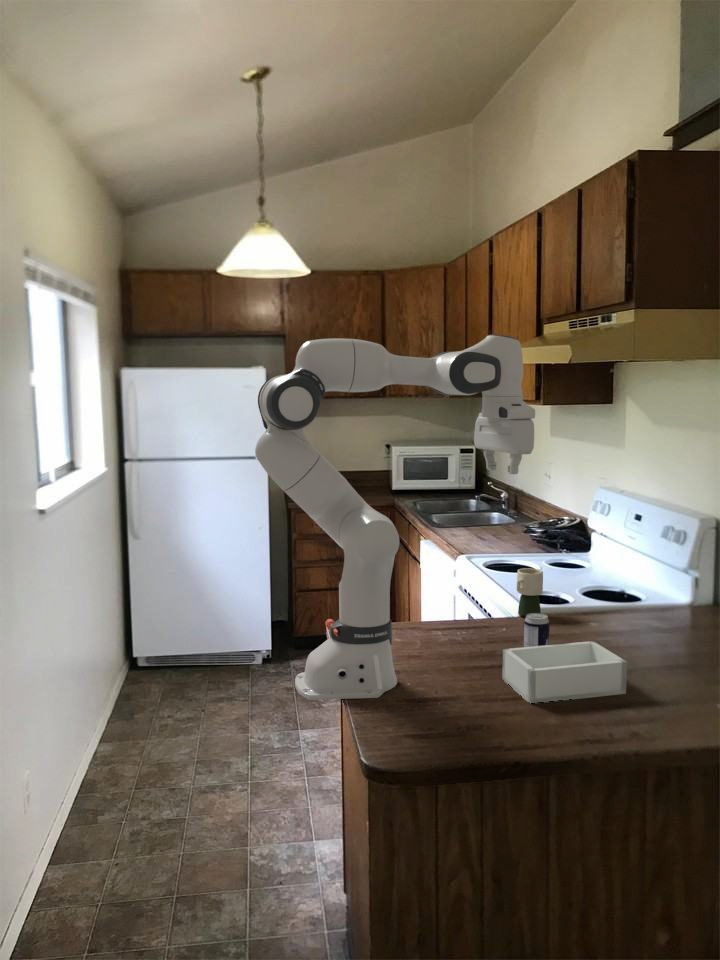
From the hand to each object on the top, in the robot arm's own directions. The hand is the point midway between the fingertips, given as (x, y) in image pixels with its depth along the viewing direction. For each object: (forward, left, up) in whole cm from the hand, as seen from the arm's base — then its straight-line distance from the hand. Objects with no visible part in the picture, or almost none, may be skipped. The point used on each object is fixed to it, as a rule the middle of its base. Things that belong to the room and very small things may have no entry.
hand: (501, 471), depth 177 cm
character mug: (+25, +37, -46) cm, 65 cm away
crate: (+9, -13, -46) cm, 48 cm away
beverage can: (+9, 0, -46) cm, 47 cm away
